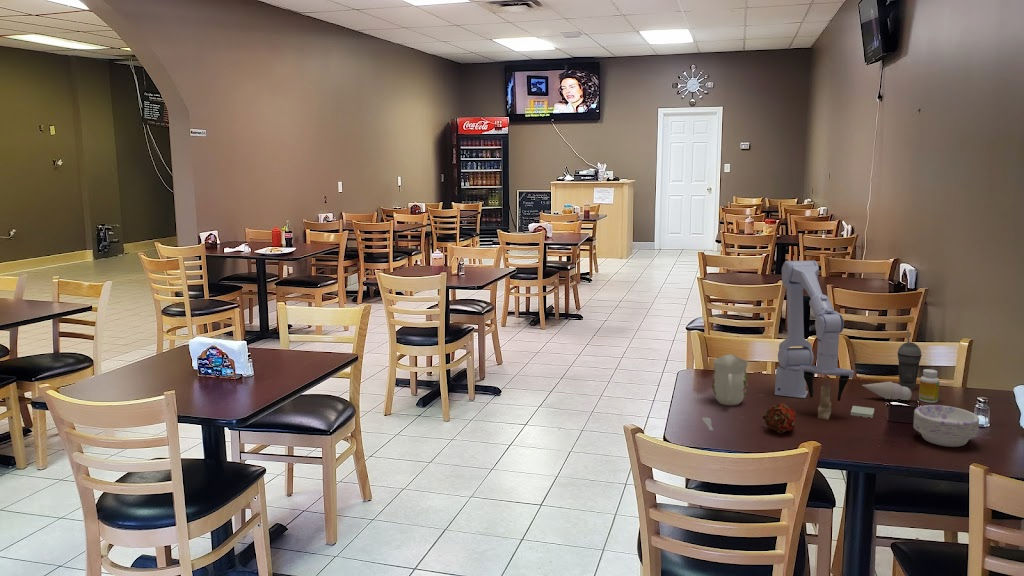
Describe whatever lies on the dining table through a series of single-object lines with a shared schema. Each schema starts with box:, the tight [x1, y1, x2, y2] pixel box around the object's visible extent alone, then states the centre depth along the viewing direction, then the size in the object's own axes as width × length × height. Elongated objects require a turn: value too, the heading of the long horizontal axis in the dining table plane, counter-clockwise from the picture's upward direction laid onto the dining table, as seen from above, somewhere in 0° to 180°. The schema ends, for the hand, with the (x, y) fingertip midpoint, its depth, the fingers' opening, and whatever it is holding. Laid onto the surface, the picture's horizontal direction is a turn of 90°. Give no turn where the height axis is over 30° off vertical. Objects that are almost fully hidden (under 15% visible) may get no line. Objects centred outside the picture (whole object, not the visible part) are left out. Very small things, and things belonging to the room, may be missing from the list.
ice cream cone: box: [861, 380, 913, 401], centre depth 243 cm, size 6×6×15 cm
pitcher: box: [711, 353, 749, 406], centre depth 241 cm, size 11×18×14 cm, turn 164°
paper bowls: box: [912, 404, 980, 448], centre depth 206 cm, size 15×15×8 cm
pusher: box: [817, 384, 832, 420], centre depth 229 cm, size 3×8×9 cm, turn 153°
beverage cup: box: [897, 328, 922, 391], centre depth 255 cm, size 7×7×20 cm
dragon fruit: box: [761, 402, 797, 434], centre depth 215 cm, size 8×8×12 cm
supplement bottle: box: [918, 368, 940, 404], centre depth 242 cm, size 5×5×10 cm
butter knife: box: [701, 417, 714, 431], centre depth 216 cm, size 1×24×3 cm
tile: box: [850, 405, 875, 419], centre depth 231 cm, size 2×7×6 cm
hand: (825, 398), depth 228 cm, fingers open, 7 cm apart
